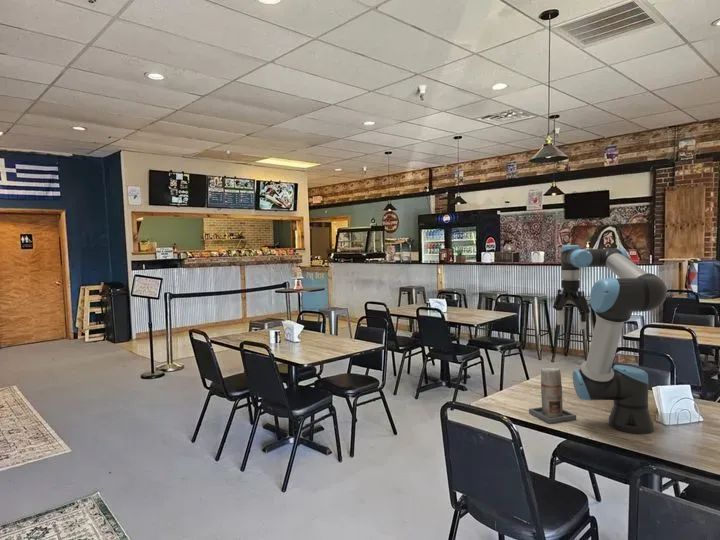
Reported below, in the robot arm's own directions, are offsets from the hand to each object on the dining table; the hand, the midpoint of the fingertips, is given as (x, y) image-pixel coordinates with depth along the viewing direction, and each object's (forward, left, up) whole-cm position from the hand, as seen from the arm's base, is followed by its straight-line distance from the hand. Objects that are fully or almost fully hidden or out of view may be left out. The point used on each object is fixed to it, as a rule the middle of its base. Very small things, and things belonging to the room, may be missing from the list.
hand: (570, 326), depth 208 cm
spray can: (-11, +19, -34) cm, 41 cm away
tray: (-11, +19, -35) cm, 41 cm away
